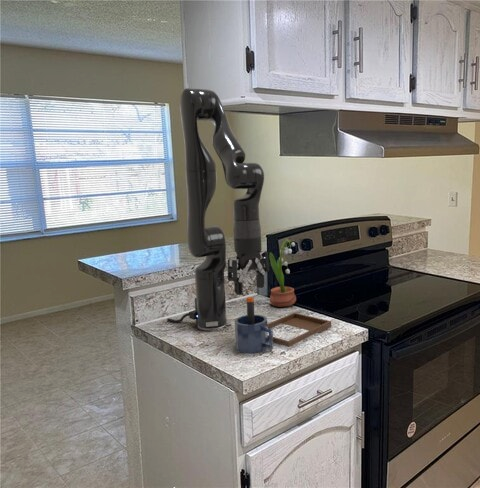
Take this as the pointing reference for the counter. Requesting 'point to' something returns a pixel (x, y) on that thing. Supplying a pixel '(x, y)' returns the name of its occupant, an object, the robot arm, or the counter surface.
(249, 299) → the marker
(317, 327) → the tray
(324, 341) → the counter surface
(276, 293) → the potted flower
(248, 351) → the mug
